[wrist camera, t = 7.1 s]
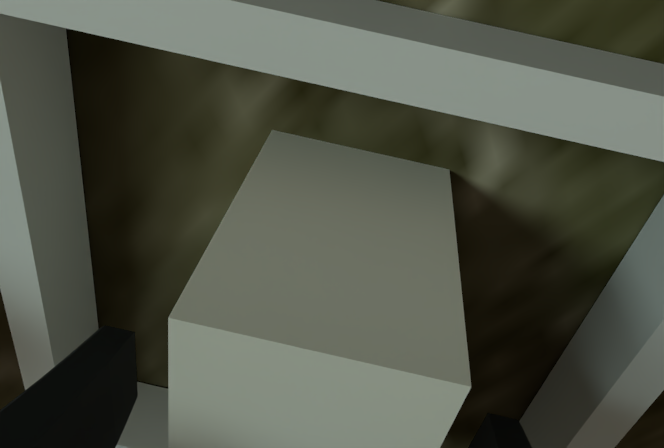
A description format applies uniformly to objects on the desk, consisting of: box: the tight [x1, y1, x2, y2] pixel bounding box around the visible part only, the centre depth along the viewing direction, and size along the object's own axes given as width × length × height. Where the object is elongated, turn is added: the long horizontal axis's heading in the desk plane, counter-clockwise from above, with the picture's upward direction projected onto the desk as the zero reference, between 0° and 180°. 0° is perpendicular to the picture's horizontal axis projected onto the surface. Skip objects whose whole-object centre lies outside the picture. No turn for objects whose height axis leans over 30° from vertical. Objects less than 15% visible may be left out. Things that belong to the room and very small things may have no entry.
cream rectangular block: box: [168, 130, 471, 448], centre depth 12 cm, size 8×4×6 cm, turn 170°
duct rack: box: [0, 0, 664, 448], centre depth 12 cm, size 15×29×4 cm, turn 80°
